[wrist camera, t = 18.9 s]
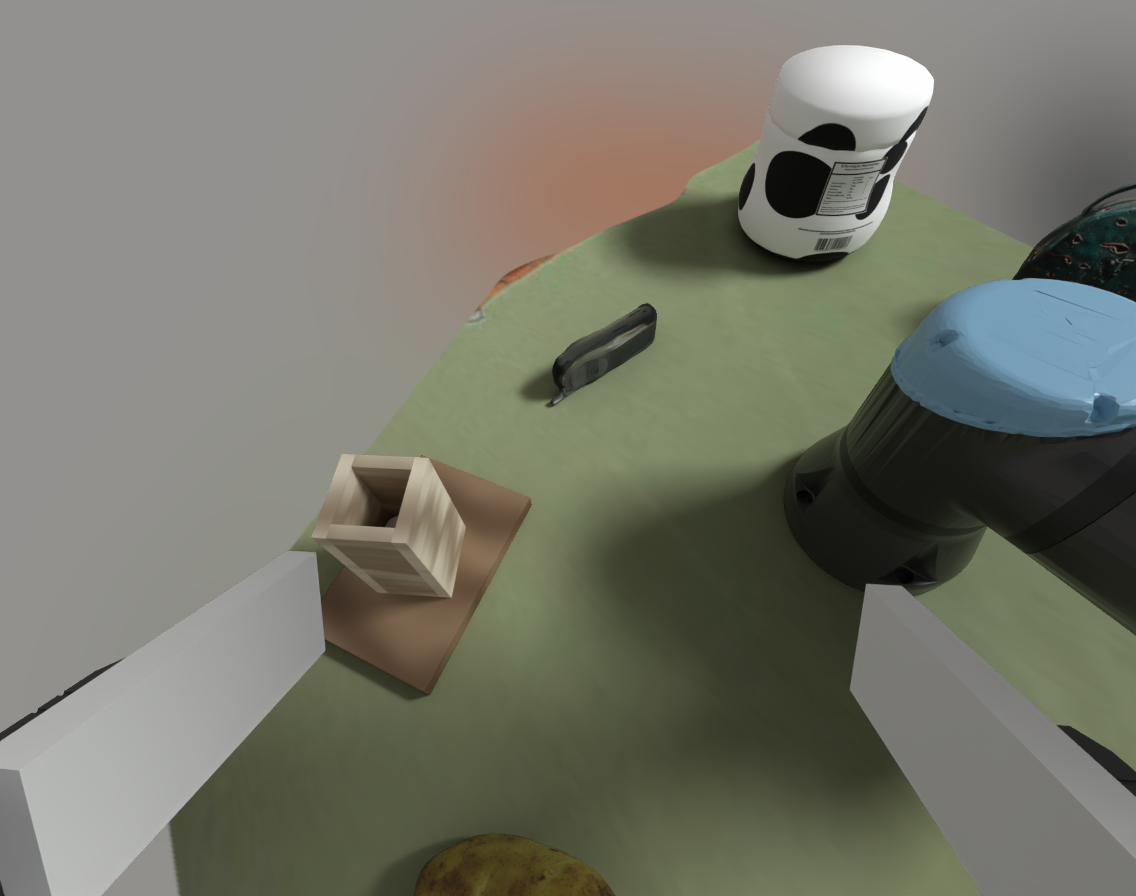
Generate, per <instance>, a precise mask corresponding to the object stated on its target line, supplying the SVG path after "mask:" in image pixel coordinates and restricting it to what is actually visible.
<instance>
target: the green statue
mask: <svg viewBox="0 0 1136 896" xmlns="http://www.w3.org/2000/svg"><path fill="white" fill-rule="evenodd" d="M1135 188H1136V183H1133V184H1129V185H1125V186H1123V187H1120V188H1118V189H1116V190H1113V191H1111V192H1109V193H1108V194H1106V195H1104V196H1102V197H1101V198H1099V199H1098V200H1097V201H1095V202H1094V203H1092V204H1091V205H1089V206H1088V207H1087V208H1085V209H1084V210H1083V211H1082V214H1080V215H1078V216H1077V217H1075V218H1074V219H1072V220H1070V221H1068V222H1067V223H1065V224H1063V225H1061V226H1059V227H1058V228H1056V229H1055V230H1053V231H1052V232H1051V233H1049V234H1048V235H1047V236H1046V237H1045V238H1043V239H1042V240H1041V241H1040V242H1039V243H1038V244H1037V245H1036V246H1035V247H1034V249H1033V250H1032V252H1031V253H1030V255H1029V256H1028V257H1027V259H1026V260H1025V261H1024V263H1023V264H1022V266H1021V267H1020V269H1019V271H1018V272H1017V274H1016V275H1015V276H1014V278H1013V279H1012V280H1021V279H1025V278H1037V279H1052V280H1061V281H1067V282H1073V283H1079V284H1083V285H1088V286H1092V287H1095V288H1099V289H1102V290H1105V291H1109V292H1111V293H1114V294H1117V295H1120V296H1122V297H1125V298H1127V299H1129V300H1132V301H1134V302H1136V197H1133V198H1122V199H1117V200H1113V201H1110V202H1107V203H1104V204H1101V205H1098V206H1096V207H1094V206H1095V205H1097V204H1098V203H1100V202H1101V201H1103V200H1104V199H1106V198H1108V197H1111V196H1113V195H1115V194H1118V193H1122V192H1125V191H1128V190H1131V189H1135Z"/></svg>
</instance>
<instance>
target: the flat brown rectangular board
mask: <svg viewBox="0 0 1136 896" xmlns="http://www.w3.org/2000/svg"><path fill="white" fill-rule="evenodd" d="M420 458H428V457H425V456H423V455H421V457H420ZM429 460H430V462H431V463H432V465H433V467H434V469H435V471H436V473H437V475H438V476H439V478H440V480H441V482H442V484H443V486H444V488H445V489H446V491H447V493H448V495H449V497H450V499H451V500H452V502H453V504H454V506H455V508H456V510H457V512H458V513H459V515H460V517H461V519H462V521H463V523H464V525H465V526H466V529H465V534H464V539H463V544H462V549H461V553H460V558H459V563H458V568H457V573H456V578H455V583H454V588H453V593H452V598H446V597H432V596H418V595H403V594H389V593H378V592H376V591H375V590H374V589H373V588H372V587H370V586H369V585H368V584H367V583H366V582H364V581H363V580H362V579H361V578H359V577H358V576H357V575H356V574H355V573H353V572H352V571H351V570H350V569H349V568H347V567H346V566H344V568H343V569H342V571H341V572H340V574H339V575H338V576H337V578H336V579H335V581H334V582H333V584H332V585H331V587H330V588H329V589H328V591H327V592H326V594H325V595H324V597H323V598H322V600H321V609H322V619H323V629H324V639H326V640H327V641H329V642H331V643H333V644H335V645H337V646H339V647H341V648H342V649H344V650H346V651H348V652H350V653H352V654H354V655H356V656H357V657H359V658H361V659H363V660H365V661H367V662H369V663H371V664H372V665H374V666H376V667H378V668H380V669H382V670H384V671H385V672H387V673H389V674H391V675H393V676H395V677H397V678H399V679H400V680H402V681H404V682H406V683H408V684H410V685H412V686H414V687H415V688H417V689H419V690H421V691H423V692H425V693H427V694H429V695H430V693H431V691H432V690H433V688H434V686H435V684H436V682H437V680H438V678H439V677H440V675H441V673H442V671H443V669H444V667H445V665H446V663H447V662H448V660H449V658H450V656H451V654H452V652H453V650H454V649H455V647H456V645H457V643H458V641H459V639H460V637H461V636H462V634H463V632H464V630H465V628H466V626H467V624H468V622H469V621H470V619H471V617H472V615H473V613H474V611H475V609H476V608H477V606H478V604H479V602H480V600H481V598H482V596H483V595H484V593H485V591H486V589H487V587H488V585H489V583H490V582H491V580H492V578H493V576H494V574H495V572H496V570H497V568H498V567H499V565H500V563H501V561H502V559H503V557H504V555H505V554H506V552H507V550H508V548H509V546H510V544H511V542H512V541H513V539H514V537H515V535H516V533H517V531H518V529H519V527H520V526H521V524H522V522H523V520H524V518H525V516H526V514H527V513H528V511H529V509H530V507H531V505H532V504H531V500H530V497H527V496H525V495H522V494H520V493H517V492H514V491H512V490H509V489H507V488H504V487H502V486H499V485H497V484H494V483H491V482H489V481H486V480H484V479H481V478H479V477H476V476H474V475H471V474H469V473H466V472H463V471H461V470H458V469H456V468H453V467H451V466H448V465H446V464H443V463H440V462H438V461H435V460H433V459H430V458H429ZM397 519H398V516H395V517H393V518H391V519H390V520H389V521H388V522H387V524H386V525H385V527H387V528H395V527H396V523H397Z"/></svg>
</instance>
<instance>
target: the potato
mask: <svg viewBox="0 0 1136 896" xmlns="http://www.w3.org/2000/svg"><path fill="white" fill-rule="evenodd" d="M414 896H615V895H614V893H613V892H612V890H611V888H610V887H609V885H608V884H607V883H606V881H605V880H604V879H603V878H602V877H601V875H600V874H598V873H597V872H596V871H595V870H594V869H592V868H591V867H589V866H588V865H586V864H585V863H583V862H582V861H580V860H578V859H577V858H575V857H573V856H571V855H569V854H567V853H565V852H562V851H560V850H558V849H555V848H552V847H549V846H546V845H543V844H539V843H537V842H534V841H532V840H530V839H527V838H524V837H520V836H514V835H506V834H485V835H478V836H475V837H472V838H469V839H467V840H465V841H462V842H460V843H458V844H456V845H454V846H452V847H450V848H448V849H446V850H444V851H442V852H440V853H439V854H437V855H436V856H434V857H433V858H432V859H431V860H430V861H428V862H427V863H426V865H425V866H424V868H423V869H422V871H421V873H420V875H419V877H418V880H417V883H416V887H415V892H414Z"/></svg>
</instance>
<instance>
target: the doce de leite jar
mask: <svg viewBox="0 0 1136 896" xmlns="http://www.w3.org/2000/svg"><path fill="white" fill-rule="evenodd" d="M933 84H934V79H933V77H932V76H931V75H930V73H929V72H928V71H927V69H926V68H925V67H924V66H922V65H921V64H919V63H917V62H916V61H914V60H912V59H911V58H909V57H906V56H903V55H900V54H897V53H894V52H891V51H888V50H884V49H878V48H871V47H866V46H846V45H835V46H828V47H820V48H813V49H810V50H808V51H805V52H802V53H799V54H796V55H794V56H793V57H792V58H790V59H789V60H788V61H786V62H785V63H784V64H783V67H782V68H781V71H780V73H779V76H778V79H777V81H776V84H775V87H774V90H773V93H772V96H771V99H770V104H769V108H768V110H767V113H766V117H765V121H764V125H763V130H762V135H761V140H760V143H759V147H758V150H757V153H756V155H755V157H754V159H753V161H752V162H751V164H750V166H749V168H748V170H747V172H746V174H745V176H744V179H743V182H742V185H741V188H740V193H739V201H738V216H739V221H740V224H741V227H742V229H743V231H744V232H745V234H746V235H747V236H748V237H749V238H750V239H751V240H752V241H753V242H754V243H755V244H757V245H758V246H760V247H761V248H763V249H765V250H767V251H768V252H770V253H772V254H774V255H778V256H782V257H785V258H788V259H791V260H799V261H811V262H816V261H826V260H832V259H837V258H841V257H844V256H846V255H848V254H850V253H852V252H854V251H856V250H857V249H859V248H860V247H861V246H862V245H864V244H865V243H866V242H867V241H868V239H869V238H870V237H871V236H872V234H873V233H874V232H875V230H876V229H877V228H878V226H879V225H880V223H881V221H882V219H883V218H884V216H885V214H886V211H887V208H888V206H889V202H890V198H891V193H892V187H893V182H894V178H895V175H896V172H897V170H898V168H899V165H900V163H901V161H902V159H903V158H904V155H905V154H906V152H907V150H908V148H909V146H910V144H911V142H912V140H913V138H914V136H915V134H916V130H917V129H918V127H919V125H920V124H921V122H922V120H923V118H924V116H925V113H926V111H927V108H928V105H929V103H930V100H931V97H932V93H933Z"/></svg>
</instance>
